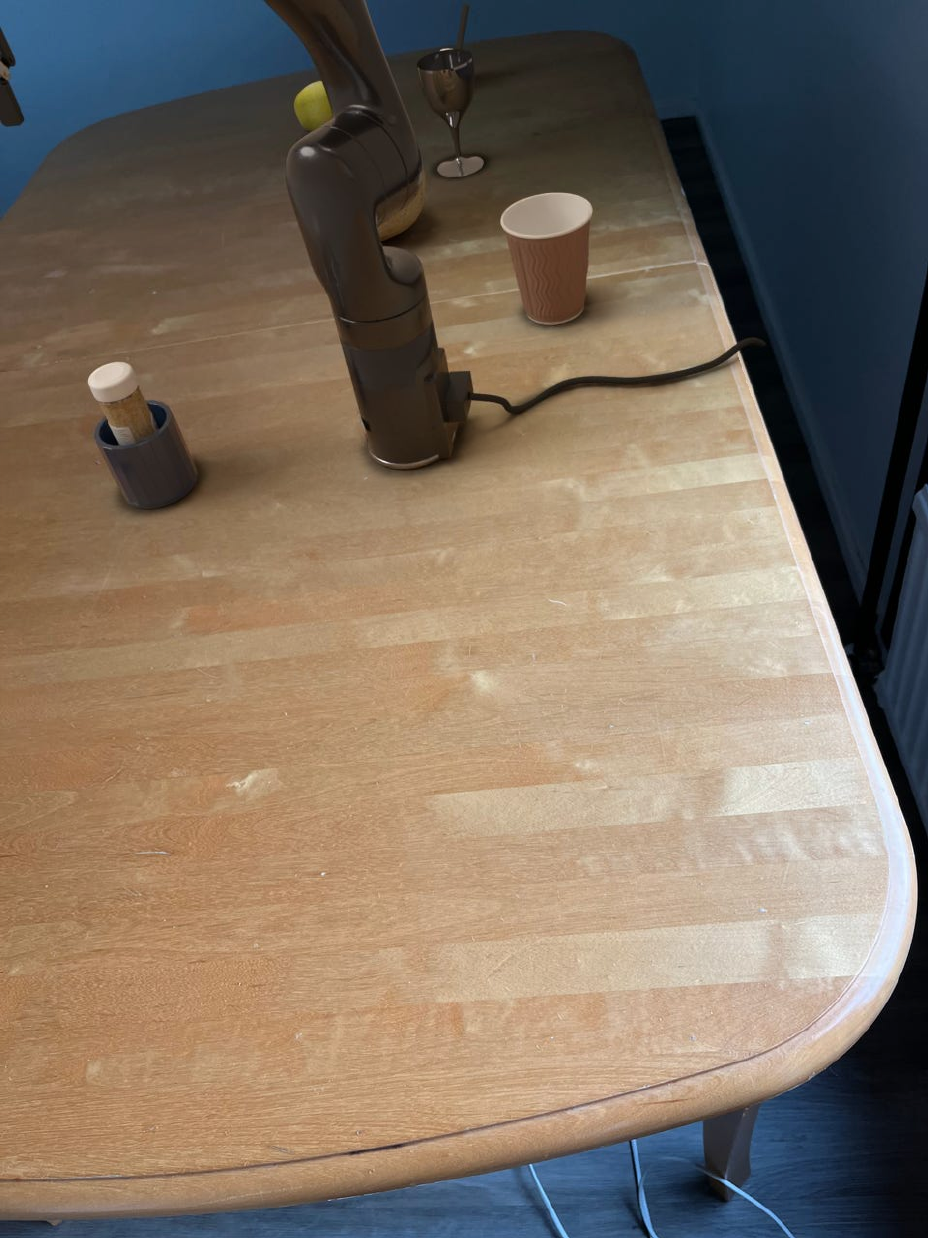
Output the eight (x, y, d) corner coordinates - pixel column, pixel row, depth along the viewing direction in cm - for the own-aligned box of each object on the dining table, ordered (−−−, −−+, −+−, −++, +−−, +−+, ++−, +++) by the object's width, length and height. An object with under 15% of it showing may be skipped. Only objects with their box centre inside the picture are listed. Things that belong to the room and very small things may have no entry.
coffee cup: (615, 300, 122) (611, 202, 113) (561, 342, 118) (552, 244, 109) (549, 279, 128) (540, 184, 119) (494, 318, 123) (481, 223, 114)
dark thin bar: (428, 101, 174) (415, 23, 165) (424, 88, 178) (411, 11, 169) (482, 89, 173) (472, 11, 165) (477, 76, 178) (467, 0, 169)
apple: (353, 138, 167) (342, 87, 161) (299, 146, 168) (286, 96, 162) (357, 119, 172) (346, 69, 167) (305, 127, 174) (292, 77, 168)
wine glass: (496, 157, 154) (483, 50, 143) (468, 180, 150) (452, 72, 139) (452, 152, 158) (436, 47, 147) (424, 175, 154) (405, 68, 143)
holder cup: (207, 459, 112) (182, 398, 106) (183, 508, 107) (155, 447, 101) (139, 460, 114) (111, 401, 108) (112, 509, 109) (81, 450, 103)
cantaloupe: (373, 272, 135) (347, 159, 125) (310, 243, 144) (281, 134, 133) (456, 226, 141) (438, 114, 130) (391, 200, 149) (369, 93, 139)
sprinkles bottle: (185, 479, 109) (138, 372, 100) (146, 498, 108) (94, 392, 98) (170, 459, 112) (122, 354, 102) (132, 478, 111) (80, 373, 101)
